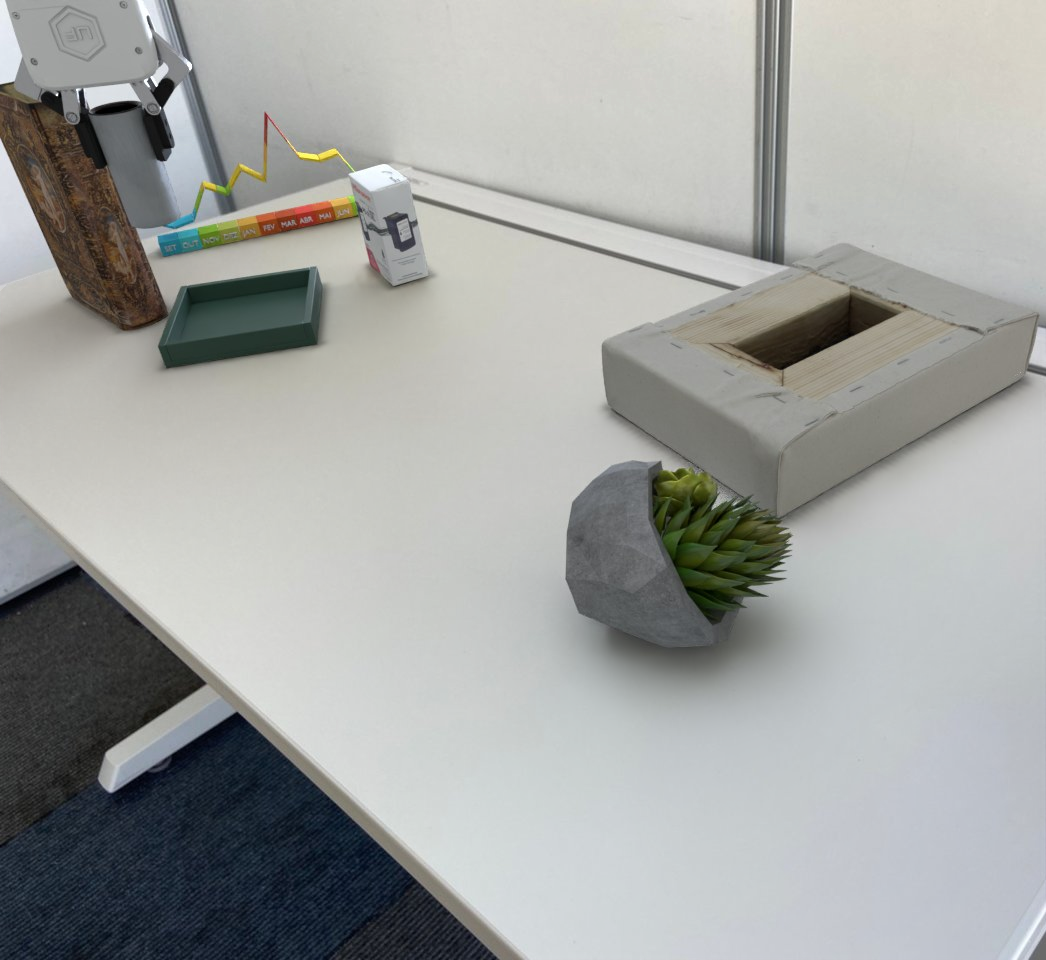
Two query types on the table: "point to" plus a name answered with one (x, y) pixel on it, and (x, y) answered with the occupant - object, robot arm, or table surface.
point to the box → (815, 371)
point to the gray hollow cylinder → (134, 164)
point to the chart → (258, 223)
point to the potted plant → (667, 554)
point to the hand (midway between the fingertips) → (134, 158)
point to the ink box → (389, 223)
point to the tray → (242, 317)
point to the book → (79, 214)
